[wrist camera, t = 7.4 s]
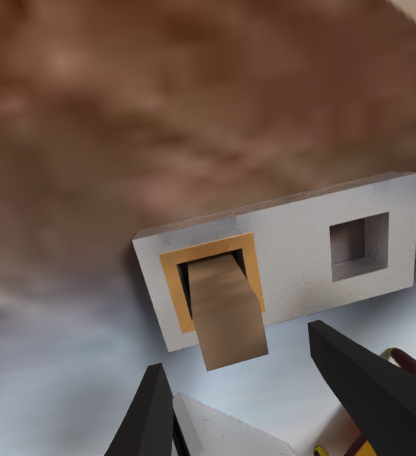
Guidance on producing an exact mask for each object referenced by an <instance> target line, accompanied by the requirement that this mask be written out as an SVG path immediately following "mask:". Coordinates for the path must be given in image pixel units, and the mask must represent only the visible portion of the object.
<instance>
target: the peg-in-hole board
mask: <svg viewBox="0 0 416 456" xmlns="http://www.w3.org/2000/svg"><path fill="white" fill-rule="evenodd" d="M360 218H364V257H361V258H357V259H353V260H349V261H345V262H342V263H338V264H334V265H331V249H330V231H329V226H332V225H336V224H340V223H344V222H348V221H352V220H356V219H360ZM132 242H133V245H134V248H135V251H136V254H137V257H138V260H139V263H140V266H141V269H142V273H143V276H144V279H145V282H146V285H147V288H148V291H149V294H150V297H151V300H152V303H153V306H154V309H155V312H156V315H157V319H158V322H159V325H160V328H161V331H162V334H163V337H164V340H165V343H166V346H167V349H168V352H172V351H176V350H179V349H183V348H187V347H191V346H194V345H198V344H199V340H198V337H197V333H196V329H195V326H194V322H193V319H192V308H191V301H190V300H189V296H188V293H187V289H186V285H185V282H184V278H183V274H182V270H181V267H180V263H183V262H187V261H192V260H196V259H200V258H204V257H208V256H212V255H216V254H220V253H224V252H228V251H232V250H236V252H237V258H238V263H239V267H240V269H241V271H242V272H243V274H244V276H245V277H246V279H247V281H248V282H249V284H250V286H251V287H252V289H253V291H254V292H255V294H256V296H257V297H258V299H259V301H260V307H261V313H262V318H263V324H264V326H268V325H272V324H276V323H279V322H283V321H287V320H290V319H294V318H298V317H301V316H305V315H309V314H312V313H316V312H320V311H324V310H327V309H331V308H335V307H338V306H342V305H346V304H349V303H353V302H357V301H361V300H364V299H368V298H372V297H375V296H379V295H383V294H386V293H390V292H394V291H397V290H401V289H405V288H409V287H412V286H413V280H414V264H415V249H416V172H386V173H382V174H378V175H374V176H369V177H365V178H361V179H356V180H352V181H348V182H344V183H339V184H335V185H331V186H326V187H322V188H318V189H314V190H309V191H305V192H301V193H297V194H292V195H288V196H284V197H279V198H275V199H271V200H267V201H262V202H258V203H254V204H249V205H245V206H241V207H237V208H232V209H228V210H224V211H220V212H215V213H211V214H207V215H202V216H198V217H194V218H190V219H185V220H181V221H177V222H172V223H168V224H164V225H160V226H155V227H151V228H147V229H143V230H138V232H137V233H136V235H135V236H134V238H133V240H132Z"/></svg>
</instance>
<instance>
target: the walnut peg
mask: <svg viewBox="0 0 416 456" xmlns="http://www.w3.org/2000/svg"><path fill="white" fill-rule="evenodd" d="M187 263H188V274H189V285H190V297H191V308H192V319H193V322H194V326H195V329H196V333H197V337H198V340H199V344H200V347H201V351H202V355H203V358H204V362H205V366H206V369H207V371H210V370H214V369H217V368H221V367H224V366H228V365H231V364H235V363H239V362H242V361H246V360H249V359H253V358H256V357H260V356H263V355H267V354H268V348H267V342H266V336H265V330H264V324H263V318H262V313H261V307H260V301H259V299H258V297H257V296H256V294H255V292H254V291H253V289H252V287H251V286H250V284H249V282H248V281H247V279H246V277H245V276H244V274H243V272H242V271H241V269H240V267H239V266H238V264H237V262H236V261H235V259H234V257H233V256H232V254H231V252H230V251H228V252H224V253H220V254H216V255H212V256H208V257H204V258H200V259H196V260H192V261H187Z"/></svg>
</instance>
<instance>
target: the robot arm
mask: <svg viewBox="0 0 416 456" xmlns="http://www.w3.org/2000/svg"><path fill="white" fill-rule="evenodd" d="M308 331H309V342H310V352H311V357H312V359H313V361H314V363H315V364H316V366H317V368H318V370H319V371H320V373H321V375H322V376H323V378H324V380H325V381H326V383H327V384H328V385H329V387H330V388H331V390H332V391H333V392H334V394H335V395H336V397H337V398H338V399H339V401H340V402H341V404H342V405H343V406H344V408H345V409H346V411H347V412H348V413H349V415H350V416H351V418H352V419H353V420H354V422H355V423H356V425H357V426H358V427H359V429H360V430H361V432H362V433H363V435H364V436H365V438H366V439H367V441H368V442H369V444H370V445H371V447H372V448H373V450H374V451H375V453H376V455H377V456H416V375H414V374H412V373H410V372H408V371H406V370H404V369H402V368H400V367H398V366H396V365H394V364H392V363H390V362H389V361H387V360H385V359H383V358H381V357H379V356H378V355H376V354H374V353H372V352H371V351H369V350H367V349H366V348H364V347H362V346H361V345H359V344H357V343H356V342H354V341H352V340H351V339H349V338H348V337H346V336H344V335H343V334H341V333H340V332H338V331H336V330H335V329H333V328H332V327H330V326H329V325H327V324H325V323H324V322H322V321H321V320H317V321H314V322H310V323H308ZM172 437H173V396H172V392H171V389H170V386H169V383H168V380H167V377H166V375H165V372H164V369H163V366H162V363H159V364H155V365H151V366H148V368H147V370H146V372H145V374H144V377H143V379H142V381H141V383H140V386H139V388H138V390H137V392H136V395H135V397H134V399H133V401H132V403H131V405H130V407H129V409H128V411H127V414H126V416H125V418H124V420H123V422H122V424H121V426H120V427H119V429H118V431H117V433H116V435H115V437H114V439H113V441H112V442H111V444H110V446H109V448H108V450H107V452H106V453H105V455H104V456H171V453H172Z"/></svg>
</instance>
